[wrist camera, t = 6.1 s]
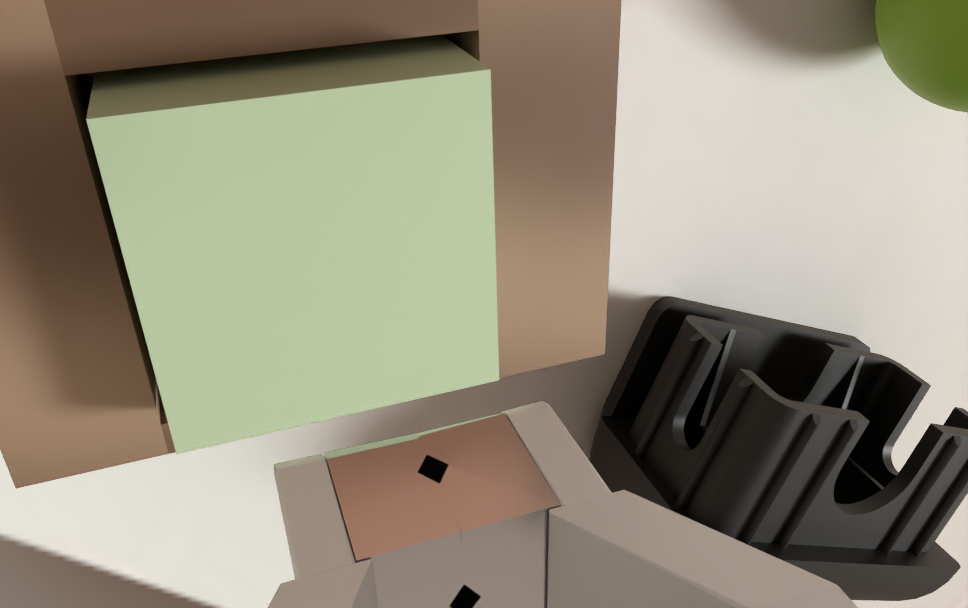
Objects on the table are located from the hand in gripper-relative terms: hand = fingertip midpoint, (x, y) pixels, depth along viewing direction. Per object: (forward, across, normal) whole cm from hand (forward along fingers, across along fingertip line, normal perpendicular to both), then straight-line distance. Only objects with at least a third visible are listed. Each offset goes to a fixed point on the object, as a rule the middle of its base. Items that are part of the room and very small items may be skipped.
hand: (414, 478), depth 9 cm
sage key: (+10, 0, 0) cm, 10 cm away
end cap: (+12, -13, +11) cm, 21 cm away
